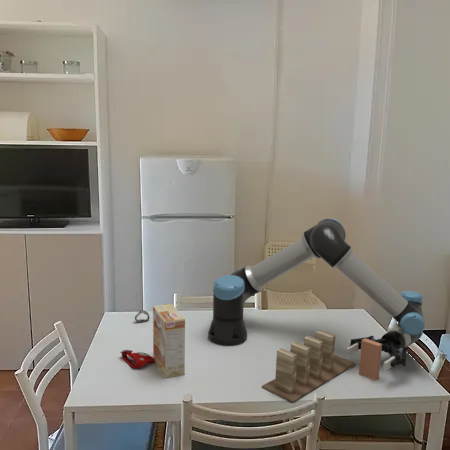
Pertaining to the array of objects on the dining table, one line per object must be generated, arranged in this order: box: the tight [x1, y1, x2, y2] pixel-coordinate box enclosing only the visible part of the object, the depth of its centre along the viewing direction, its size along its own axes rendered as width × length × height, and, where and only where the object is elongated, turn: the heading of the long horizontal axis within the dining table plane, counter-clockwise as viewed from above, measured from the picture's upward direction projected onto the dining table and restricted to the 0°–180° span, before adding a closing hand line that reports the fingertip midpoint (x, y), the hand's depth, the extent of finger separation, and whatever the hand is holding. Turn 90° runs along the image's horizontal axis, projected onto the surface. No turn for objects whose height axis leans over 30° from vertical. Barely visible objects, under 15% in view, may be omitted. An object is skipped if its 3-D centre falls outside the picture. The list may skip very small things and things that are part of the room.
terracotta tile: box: [358, 337, 383, 381], centre depth 155 cm, size 2×6×12 cm, turn 45°
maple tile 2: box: [303, 335, 324, 378], centre depth 154 cm, size 2×6×12 cm, turn 45°
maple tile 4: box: [274, 347, 297, 394], centre depth 144 cm, size 2×6×12 cm, turn 45°
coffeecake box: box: [152, 303, 186, 379], centre depth 157 cm, size 15×7×20 cm, turn 23°
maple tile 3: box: [289, 341, 311, 386], centre depth 149 cm, size 2×6×12 cm, turn 45°
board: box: [261, 354, 357, 404], centre depth 155 cm, size 36×12×1 cm, turn 135°
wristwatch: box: [134, 309, 150, 324], centre depth 196 cm, size 4×6×5 cm, turn 122°
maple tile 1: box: [315, 329, 336, 371], centre depth 159 cm, size 2×6×12 cm, turn 45°
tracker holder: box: [120, 349, 155, 370], centre depth 160 cm, size 12×4×10 cm
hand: (365, 359), depth 152 cm, fingers open, 12 cm apart
